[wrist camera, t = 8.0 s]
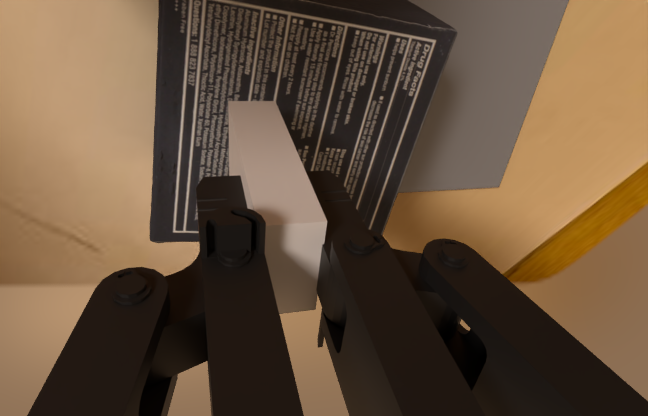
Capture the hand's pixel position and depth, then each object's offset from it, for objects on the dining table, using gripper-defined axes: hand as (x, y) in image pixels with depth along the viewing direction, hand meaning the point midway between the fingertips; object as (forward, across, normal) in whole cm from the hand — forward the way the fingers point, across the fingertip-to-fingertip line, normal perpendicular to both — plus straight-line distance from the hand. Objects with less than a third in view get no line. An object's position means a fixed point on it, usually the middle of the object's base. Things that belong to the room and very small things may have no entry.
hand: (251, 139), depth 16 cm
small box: (+5, -3, 0) cm, 6 cm away
